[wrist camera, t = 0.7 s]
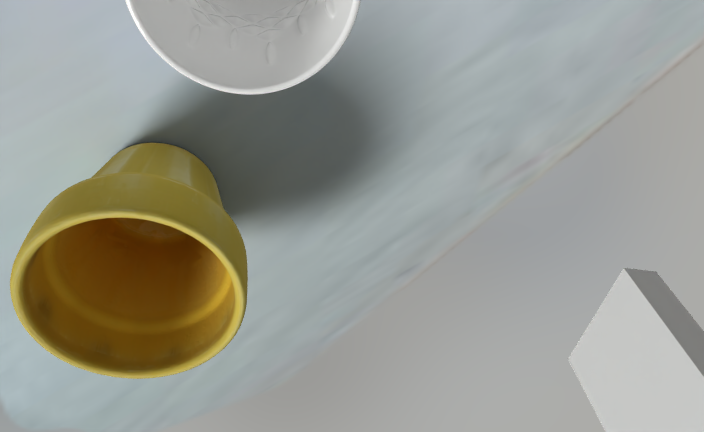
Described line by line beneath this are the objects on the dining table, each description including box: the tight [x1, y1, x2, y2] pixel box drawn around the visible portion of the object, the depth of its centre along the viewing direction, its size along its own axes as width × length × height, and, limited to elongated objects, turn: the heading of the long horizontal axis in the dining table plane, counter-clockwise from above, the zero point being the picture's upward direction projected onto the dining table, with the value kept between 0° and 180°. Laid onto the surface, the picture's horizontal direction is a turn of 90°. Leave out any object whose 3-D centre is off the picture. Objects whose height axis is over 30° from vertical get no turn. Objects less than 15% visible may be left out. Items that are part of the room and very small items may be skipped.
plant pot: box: [10, 143, 248, 379], centre depth 31 cm, size 10×10×10 cm
